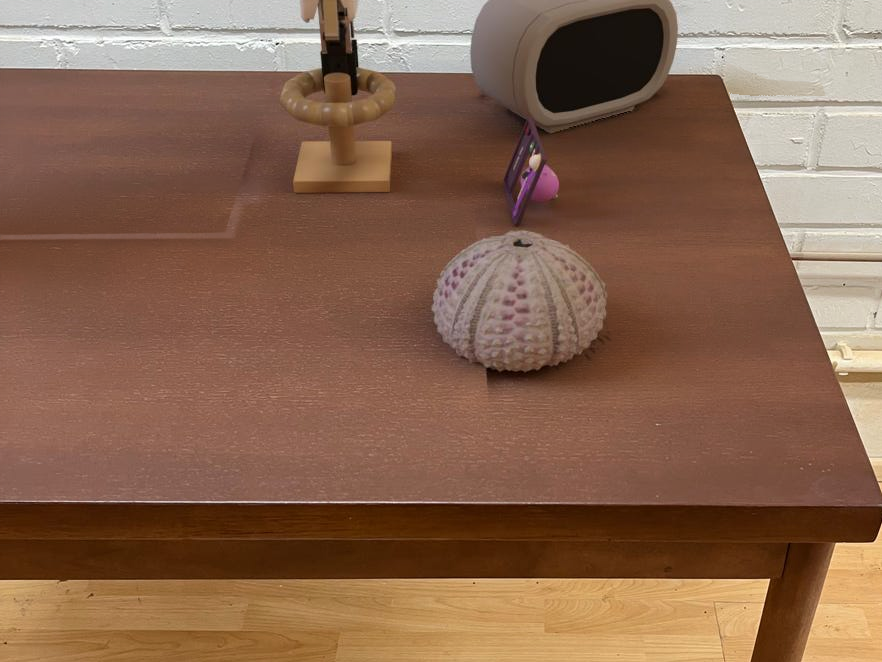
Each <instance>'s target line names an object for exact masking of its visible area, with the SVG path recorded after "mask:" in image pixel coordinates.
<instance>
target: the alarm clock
mask: <svg viewBox="0 0 882 662" xmlns="http://www.w3.org/2000/svg"><path fill="white" fill-rule="evenodd" d="M678 32H679V25H678V15H677V11H676V9H675V7H674V5H673V3H672V1H671V0H487V1H486V2H485V3H484V4H483V6H482V8H481V9H480V11H479V13H478V15H477V17H476V19H475V23H474V26H473V30H472V33H471V39H470V51H469V54H470V67H471V68H470V69H471V73H472V75H473V80H474V82H475V85H476V86H477V88H478V89H479V91H480V92H481V93H482V94H483V95H485V96H487V97H488V98H490V99H491V100H494V101H495V102H497V103H499V104H500V105H502V106H504V107H506V108H507V109H509V111H511V112H513V113H514V114H516V115H517V116H519V117H521V118H523V119H524V120H526V121H527V119H528V117H530V118H533V121H534V124H535V126H536V127H538V128H540V129H541V130H543V129H544V130H543V131H545V132H547V133H549V134H553V133H556V131H557V132H560V130H561V131H565V130H568V129H570V128H569V127H572V128H574V127H573V126H576V127H578V126H577V125H579V126H581V125H580V124H583V125H585V124H584V123H587V122H590V123H592V122H591V121H594V122H596V121H595V120H597V119H601V118H603V117H607V116H611V115H614V114H618V113H622V112H626V111H629V110H633V109H634V110H635V106H636V105H639V104H642V103H643V102H646V101H647V100H650V99H651V98H652V97H653V96H654V95H655V94H656V92H658V91H659V90H660V89H661V88H662V87H663V84H664V82H665V81H666V79H667V78H668V76H669V74H670V71H671V68H672V65H673V63H674V60H675V56H676V52H677V51H676V50H677V45H678V36H679V35H678V34H679V33H678ZM601 120H602V119H601ZM587 124H588V123H587ZM564 129H565V130H564Z"/></svg>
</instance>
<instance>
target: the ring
mask: <svg viewBox="0 0 882 662" xmlns="http://www.w3.org/2000/svg"><path fill="white" fill-rule="evenodd" d="M356 70H357V85H358V91H361V92H365V93H370V94H371V95H370V96H368V97H365V98H362V99H361V98H360V99H357V100H352V102H348V103H326V102H323V101H317V100H313V99H309V98H307V97H308V96H310V95H312V94H315V93H319V92H324V87H323V76H322V67H320V68H314V69H311V70H305V71H303V72H301V73H299V74H297V75H295V76H294V77H292V78H290V79H289V80H287V81H285V83H284V85H283V87H282V91H281V94H280V98H279V99H280V101H279V102H280V105H281V107H282V108H283V110H285V112H287V113H288V114H289V115H290V116H291V117H293V118H294V119H295V120H297V121H300V122H303V123H306V124H311V125H314V126H319V127H328V126H353V125H354V126H357V125H362V124H366V123H369V122H373V121H376V120H378V119H380V118H381V117H383V116H384V115H386V114H387V113H389V112H390V111H392V110H393V109H394V107H395V105H396V100H397V88H396V84H395V83H394V82H393V81H392V80H391V79H389V78H387V77H386V76H385V75H384V74H382V73H380V71H377V70H372V69H368V68H363V67H356Z"/></svg>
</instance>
